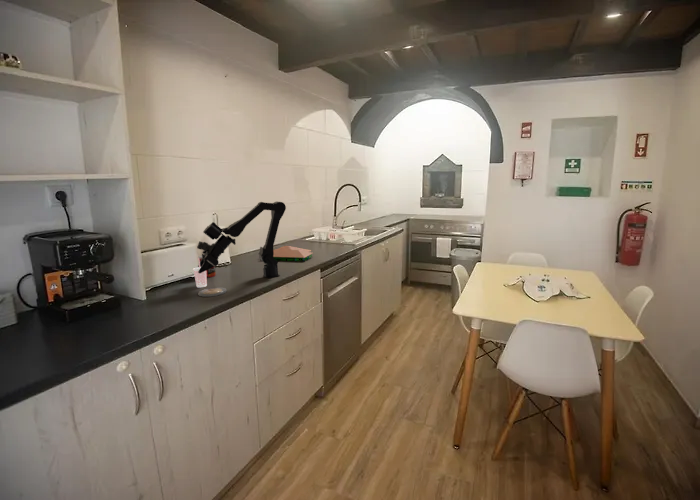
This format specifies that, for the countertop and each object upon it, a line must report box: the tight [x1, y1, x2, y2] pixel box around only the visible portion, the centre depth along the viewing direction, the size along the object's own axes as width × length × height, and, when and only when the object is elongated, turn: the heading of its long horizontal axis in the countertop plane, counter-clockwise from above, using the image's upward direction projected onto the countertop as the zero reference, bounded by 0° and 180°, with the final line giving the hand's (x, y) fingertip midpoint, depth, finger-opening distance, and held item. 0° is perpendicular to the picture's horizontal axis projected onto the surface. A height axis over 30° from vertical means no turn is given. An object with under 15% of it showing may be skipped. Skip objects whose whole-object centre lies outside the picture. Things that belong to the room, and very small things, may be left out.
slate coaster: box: [197, 287, 228, 298], centre depth 161 cm, size 12×12×1 cm
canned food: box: [197, 254, 217, 278], centre depth 190 cm, size 8×8×11 cm
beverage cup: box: [192, 257, 208, 288], centre depth 171 cm, size 6×6×14 cm
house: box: [273, 245, 314, 262], centre depth 233 cm, size 23×33×8 cm
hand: (198, 270), depth 170 cm, fingers open, 9 cm apart
